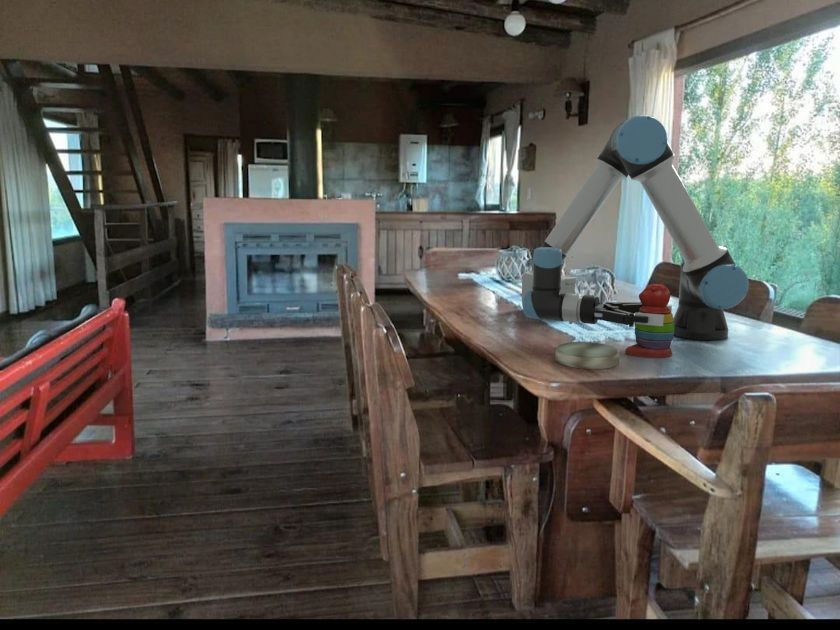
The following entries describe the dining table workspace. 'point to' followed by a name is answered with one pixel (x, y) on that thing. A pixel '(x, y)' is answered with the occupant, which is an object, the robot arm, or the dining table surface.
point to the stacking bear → (652, 337)
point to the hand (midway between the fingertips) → (667, 315)
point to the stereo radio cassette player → (566, 283)
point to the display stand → (587, 355)
